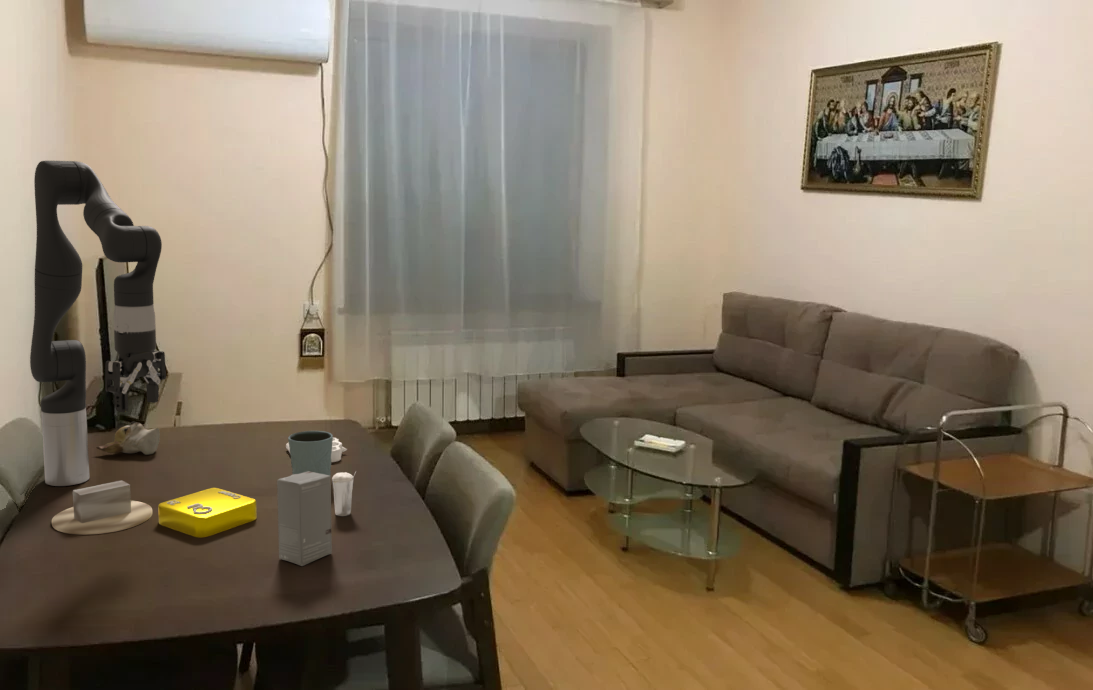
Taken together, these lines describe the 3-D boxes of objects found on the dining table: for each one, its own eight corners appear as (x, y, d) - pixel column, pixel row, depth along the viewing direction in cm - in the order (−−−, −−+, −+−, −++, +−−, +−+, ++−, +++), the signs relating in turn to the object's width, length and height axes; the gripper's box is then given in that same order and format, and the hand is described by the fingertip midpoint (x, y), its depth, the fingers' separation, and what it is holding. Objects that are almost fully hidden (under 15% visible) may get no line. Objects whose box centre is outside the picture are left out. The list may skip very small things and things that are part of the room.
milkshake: (351, 518, 193) (351, 473, 192) (328, 516, 194) (328, 471, 193) (360, 511, 198) (360, 467, 196) (337, 509, 199) (337, 465, 197)
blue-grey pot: (341, 485, 215) (341, 436, 213) (304, 494, 208) (303, 443, 206) (317, 475, 222) (317, 428, 220) (280, 483, 215) (279, 435, 213)
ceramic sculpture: (146, 426, 228) (91, 426, 230) (149, 459, 230) (95, 459, 232) (169, 417, 239) (116, 416, 241) (171, 448, 240) (119, 448, 242)
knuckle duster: (283, 448, 245) (337, 443, 252) (296, 467, 229) (353, 461, 236) (283, 436, 245) (337, 432, 251) (296, 454, 229) (353, 449, 235)
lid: (37, 518, 188) (35, 486, 187) (129, 498, 202) (127, 468, 201) (73, 543, 176) (71, 509, 175) (168, 520, 190) (167, 488, 189)
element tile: (261, 519, 192) (260, 497, 191) (201, 540, 179) (200, 517, 179) (215, 505, 200) (214, 484, 199) (154, 524, 187) (153, 502, 186)
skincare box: (301, 567, 167) (300, 485, 165) (275, 558, 171) (273, 478, 168) (334, 553, 174) (334, 474, 172) (308, 545, 178) (307, 467, 176)
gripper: (144, 321, 186) (147, 397, 189) (91, 330, 172) (95, 412, 175) (175, 324, 184) (177, 401, 187) (124, 334, 170) (127, 417, 173)
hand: (137, 406), depth 181 cm, fingers open, 8 cm apart
